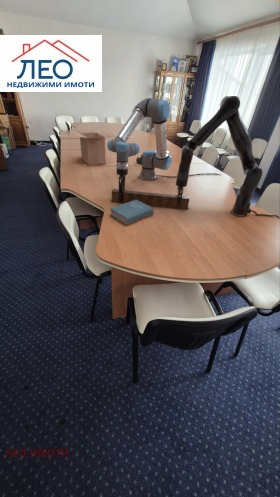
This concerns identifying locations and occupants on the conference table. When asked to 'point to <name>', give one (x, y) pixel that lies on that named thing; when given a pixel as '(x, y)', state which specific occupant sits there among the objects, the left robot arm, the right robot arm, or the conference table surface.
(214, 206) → the conference table surface
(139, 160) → the laser sight
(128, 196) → the beam
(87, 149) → the box
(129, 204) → the book
